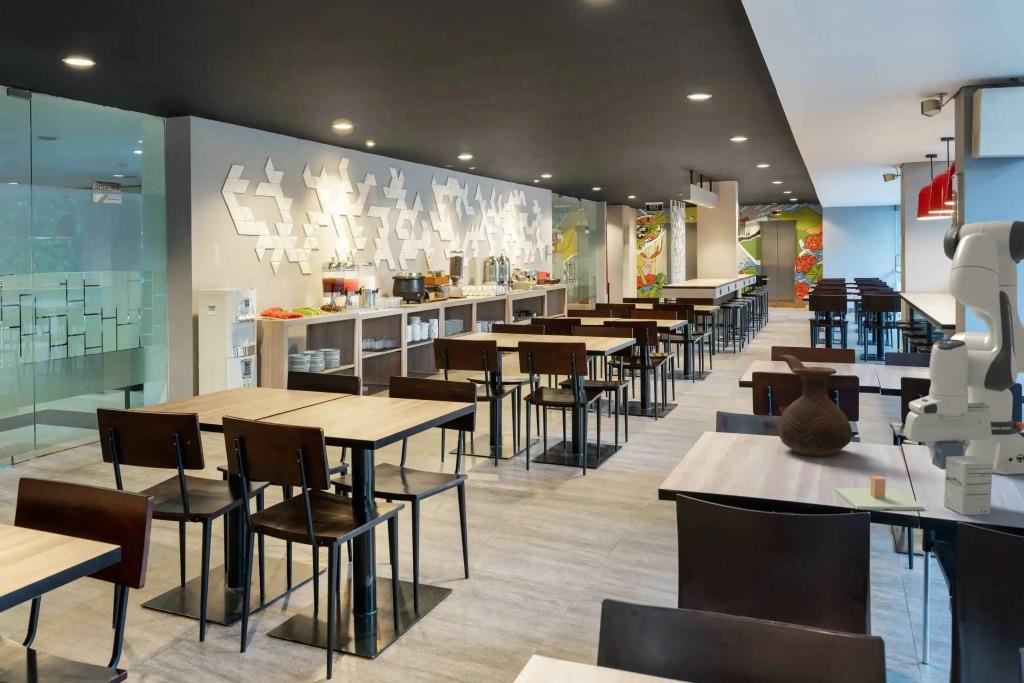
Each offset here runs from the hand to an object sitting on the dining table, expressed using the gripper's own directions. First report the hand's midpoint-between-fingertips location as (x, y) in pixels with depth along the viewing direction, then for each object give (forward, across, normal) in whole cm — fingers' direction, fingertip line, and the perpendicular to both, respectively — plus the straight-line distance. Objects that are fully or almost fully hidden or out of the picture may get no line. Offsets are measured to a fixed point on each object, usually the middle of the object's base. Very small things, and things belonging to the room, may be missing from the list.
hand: (947, 457), depth 208 cm
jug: (+11, +19, -48) cm, 52 cm away
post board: (+9, +19, +4) cm, 22 cm away
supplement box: (+10, +1, +13) cm, 16 cm away
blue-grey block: (+2, 0, 0) cm, 2 cm away
